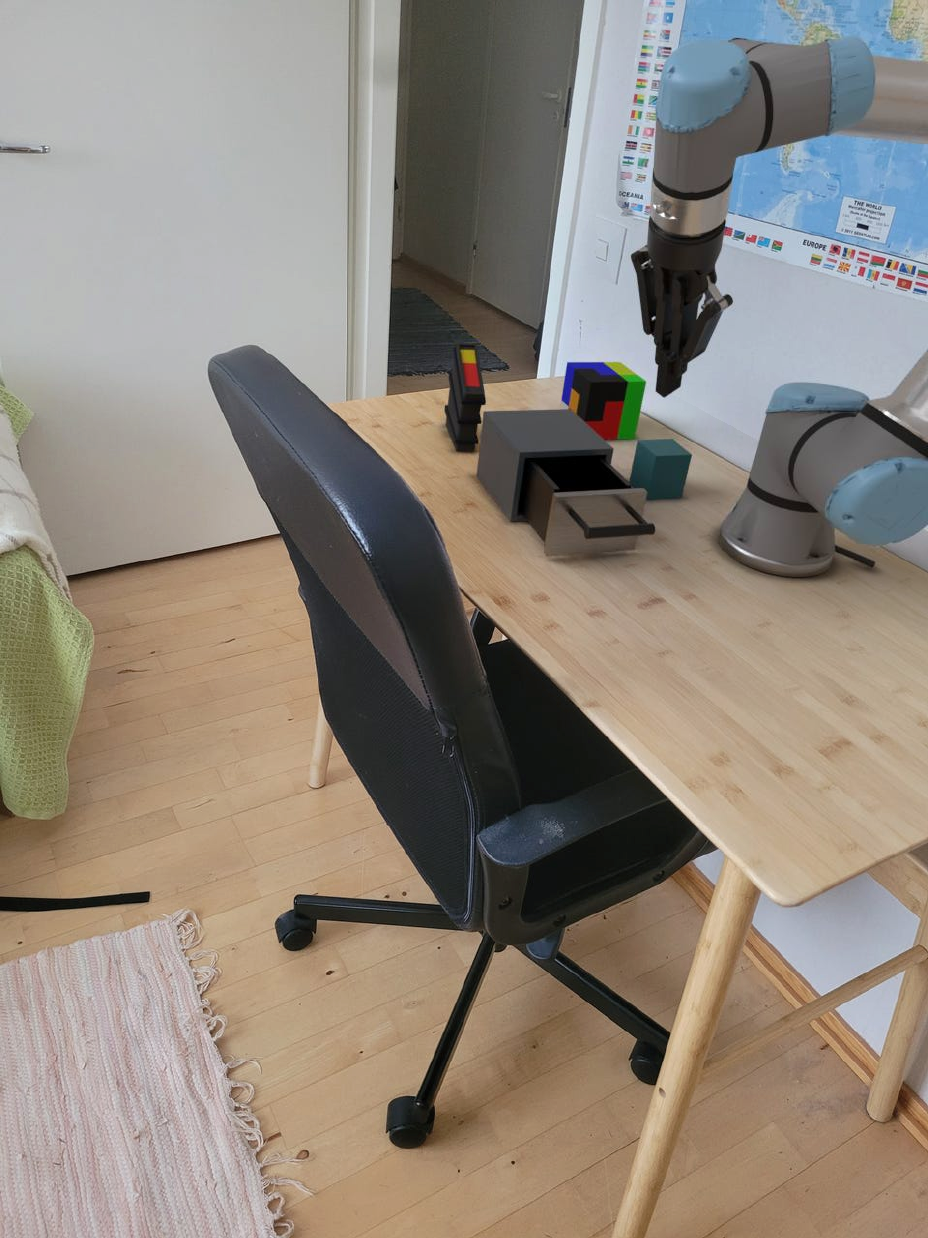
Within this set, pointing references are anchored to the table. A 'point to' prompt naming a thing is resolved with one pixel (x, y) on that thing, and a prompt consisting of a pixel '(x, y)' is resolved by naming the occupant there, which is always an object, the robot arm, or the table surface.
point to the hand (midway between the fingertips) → (668, 388)
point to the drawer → (581, 505)
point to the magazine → (465, 398)
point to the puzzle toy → (604, 397)
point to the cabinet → (529, 448)
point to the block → (660, 468)
